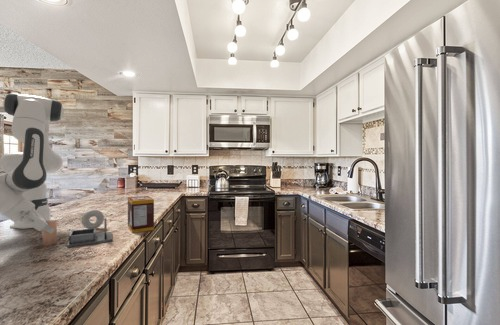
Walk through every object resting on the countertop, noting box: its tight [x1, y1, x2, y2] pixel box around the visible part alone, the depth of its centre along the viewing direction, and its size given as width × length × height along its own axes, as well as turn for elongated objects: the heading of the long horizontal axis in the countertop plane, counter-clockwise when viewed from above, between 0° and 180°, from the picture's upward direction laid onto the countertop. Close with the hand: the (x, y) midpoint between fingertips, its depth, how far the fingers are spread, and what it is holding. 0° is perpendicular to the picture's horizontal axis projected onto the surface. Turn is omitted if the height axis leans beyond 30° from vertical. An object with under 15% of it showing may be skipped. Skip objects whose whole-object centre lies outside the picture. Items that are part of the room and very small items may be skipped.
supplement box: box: [127, 195, 155, 234], centre depth 135 cm, size 10×15×16 cm
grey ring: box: [81, 209, 105, 229], centre depth 132 cm, size 10×4×10 cm, turn 130°
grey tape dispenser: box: [67, 217, 113, 248], centre depth 115 cm, size 13×16×8 cm
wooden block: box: [41, 219, 58, 247], centre depth 109 cm, size 5×5×10 cm
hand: (51, 230), depth 110 cm, fingers closed on wooden block, 5 cm apart
